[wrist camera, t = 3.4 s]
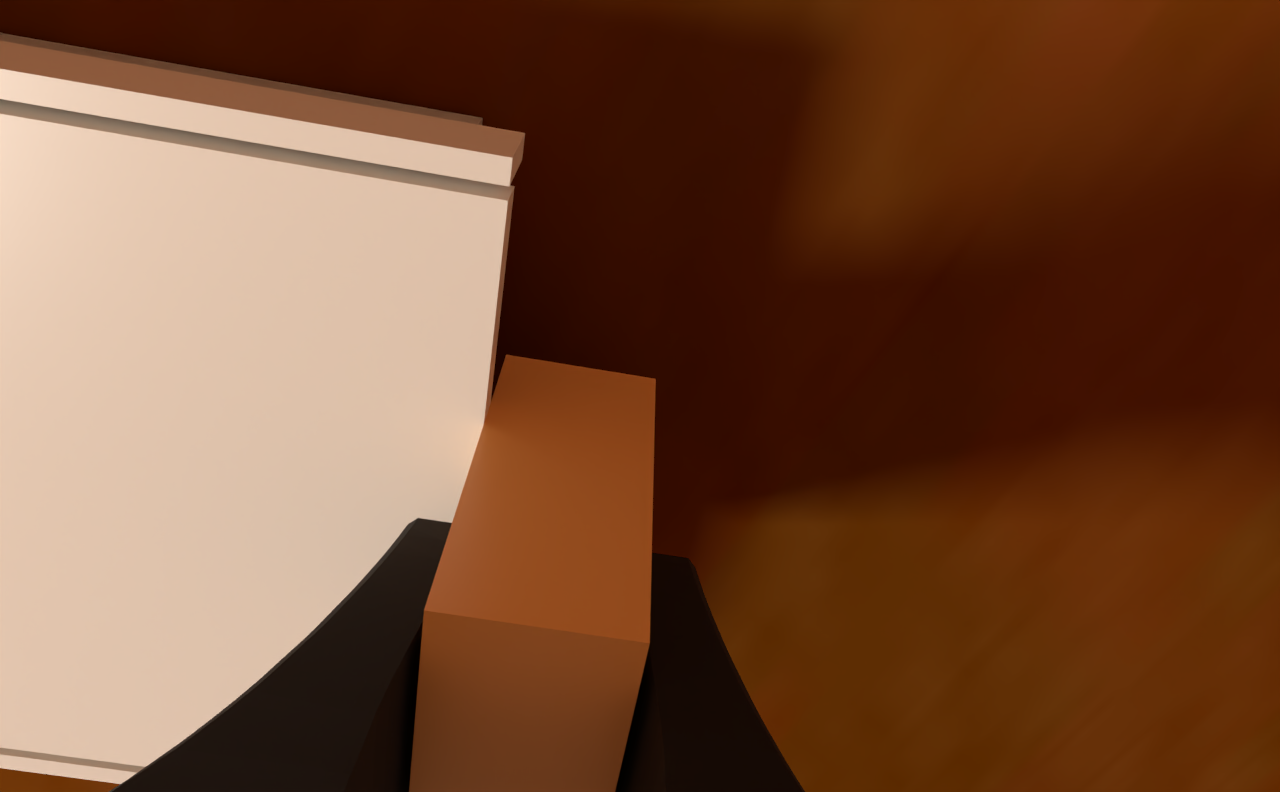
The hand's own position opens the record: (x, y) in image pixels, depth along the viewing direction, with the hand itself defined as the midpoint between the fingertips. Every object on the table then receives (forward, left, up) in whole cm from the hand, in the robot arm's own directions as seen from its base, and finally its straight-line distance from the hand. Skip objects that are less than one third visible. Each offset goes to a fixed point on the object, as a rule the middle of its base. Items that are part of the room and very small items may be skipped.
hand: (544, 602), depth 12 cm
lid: (+6, 0, -2) cm, 7 cm away
